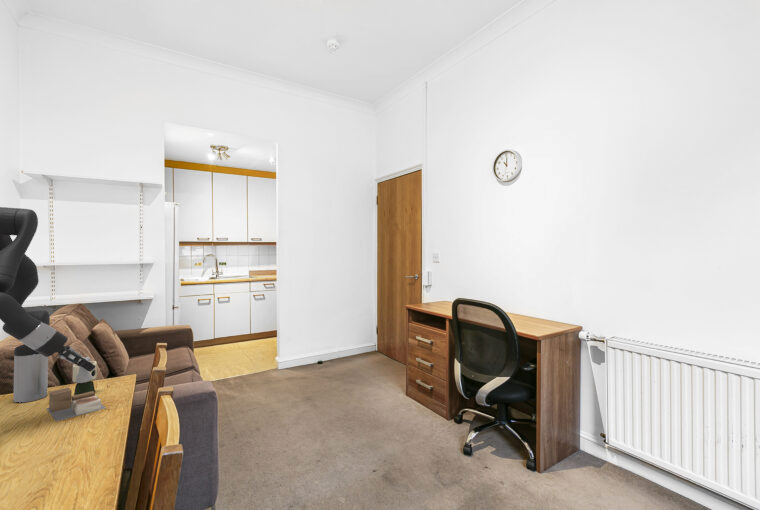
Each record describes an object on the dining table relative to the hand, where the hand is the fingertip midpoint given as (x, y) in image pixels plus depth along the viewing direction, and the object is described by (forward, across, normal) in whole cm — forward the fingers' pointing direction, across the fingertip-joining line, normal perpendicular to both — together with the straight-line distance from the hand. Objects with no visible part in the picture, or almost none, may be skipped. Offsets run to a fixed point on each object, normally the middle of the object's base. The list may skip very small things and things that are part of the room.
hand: (91, 367), depth 122 cm
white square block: (+9, 0, +11) cm, 14 cm away
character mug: (+13, +18, +10) cm, 25 cm away
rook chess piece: (+2, 0, +4) cm, 5 cm away
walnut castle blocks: (+8, +9, +12) cm, 17 cm away
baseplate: (+9, +4, +13) cm, 16 cm away
